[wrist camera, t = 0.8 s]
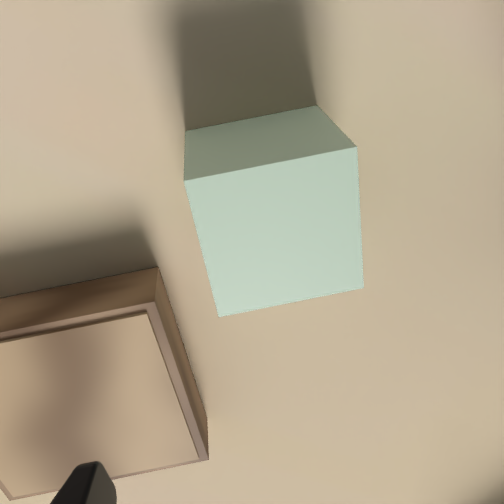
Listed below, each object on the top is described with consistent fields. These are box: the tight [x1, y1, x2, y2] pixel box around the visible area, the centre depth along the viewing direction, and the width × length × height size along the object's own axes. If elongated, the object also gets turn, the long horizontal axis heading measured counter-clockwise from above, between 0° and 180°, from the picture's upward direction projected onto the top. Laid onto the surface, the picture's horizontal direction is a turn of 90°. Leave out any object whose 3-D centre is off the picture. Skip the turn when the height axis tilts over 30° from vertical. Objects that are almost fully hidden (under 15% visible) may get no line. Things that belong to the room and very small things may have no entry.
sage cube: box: [184, 105, 364, 317], centre depth 17 cm, size 5×5×5 cm
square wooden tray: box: [0, 267, 209, 501], centre depth 22 cm, size 10×10×3 cm
